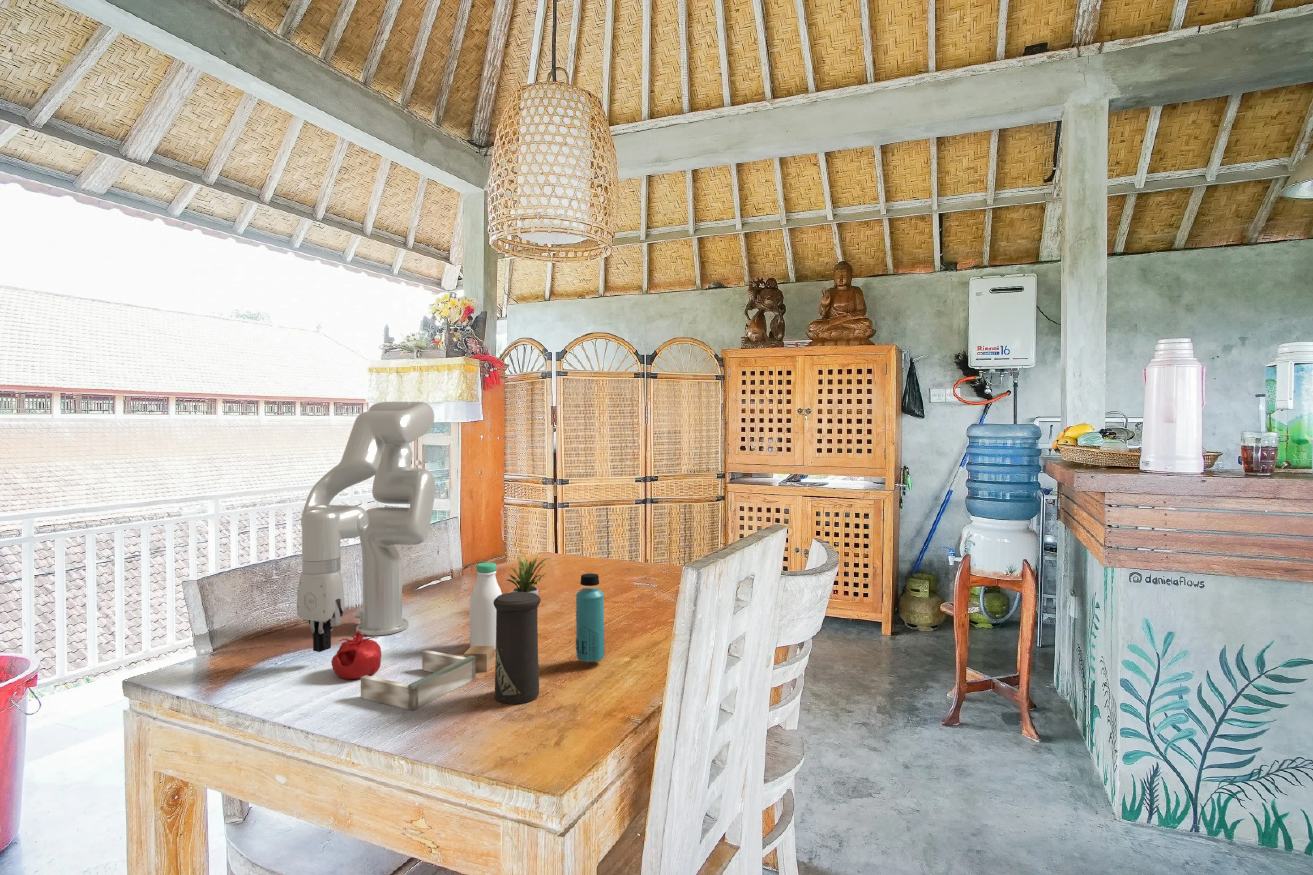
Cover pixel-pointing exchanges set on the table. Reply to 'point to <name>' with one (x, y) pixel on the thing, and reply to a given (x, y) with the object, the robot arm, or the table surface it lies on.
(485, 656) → the teak block
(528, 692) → the container
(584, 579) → the beverage bottle
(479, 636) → the milk bottle
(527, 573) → the house plant
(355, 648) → the pomegranate
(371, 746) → the table surface
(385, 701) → the display stand
